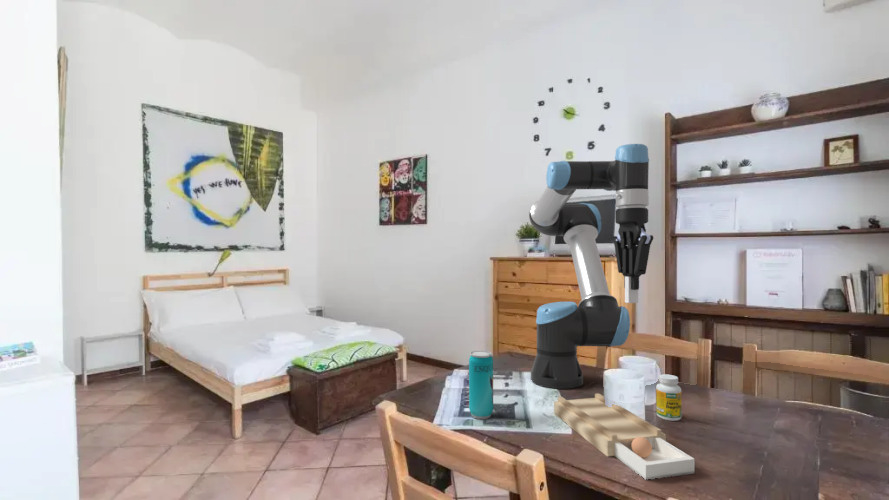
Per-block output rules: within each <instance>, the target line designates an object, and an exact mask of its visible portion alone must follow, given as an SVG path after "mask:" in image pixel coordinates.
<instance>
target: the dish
mask: <svg viewBox="0 0 889 500" xmlns="http://www.w3.org/2000/svg"><path fill="white" fill-rule="evenodd" d="M648 439H650V438H648ZM651 439H652V438H651ZM653 439H655V440H649V442H650V441H651V442H650V443H651V446H652V448H654V449H652V452H651V454H650V455H649V456H648V457H645V458H642V457H639V456H638V455H636V454H635V453H634V452H633V450H632V451H631V450H630V449H632V448H631V444H632V441H633V440H632V441H630V442H631V444H630V443H629V444H630V446H628V445H629V444H628V445H627V443H628V442H629V441H624V443H623V442H621V443H623V444H621V443H620V442H615V443H614V456H613V457H615V458H617V459H618V460H619V462H622V463H623V464H624V465H626V466H627V467H628V469H631V470H632V471H633V472H634V471H635V473H636V474H637V475H638V474H639V475H638V476H640V477H641V476H642V477H643V478H644V481H649V480H648V479H651V480H656V479H655V478H658V479H664V478H663V477H665V478H670V477H671V476H672V477H678V476H685V475H693V474H695V468H696V467H695V458H694V457H692V456H691V455H689V454H687V453H686V452H684V451H682V450H681V449H679V448H677V447H676V446H674V445H672V444H671V443H669V442H668V441H667V440H666V441H664V440H663V439H661V438H660V437H657V438H653ZM652 441H653V442H652ZM625 442H626V444H625ZM653 444H654V445H655V446H654V445H653ZM627 446H628V447H630V449H629V448H628V447H627ZM642 477H641V478H642ZM643 478H642V479H643ZM646 479H647V480H646Z"/></svg>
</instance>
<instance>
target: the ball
mask: <svg viewBox="0 0 889 500" xmlns="http://www.w3.org/2000/svg"><path fill="white" fill-rule="evenodd" d="M631 447H632V450H633V452H634V453H635V454H636V455H638V456H639V457H642V458H645V457H648V456H649V455H650V454H651V452H652V446H651V443H650V442H649V441H648V440H647V439H646V438H643V437H637V438H635V439H634V440H633V441H632V444H631Z"/></svg>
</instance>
